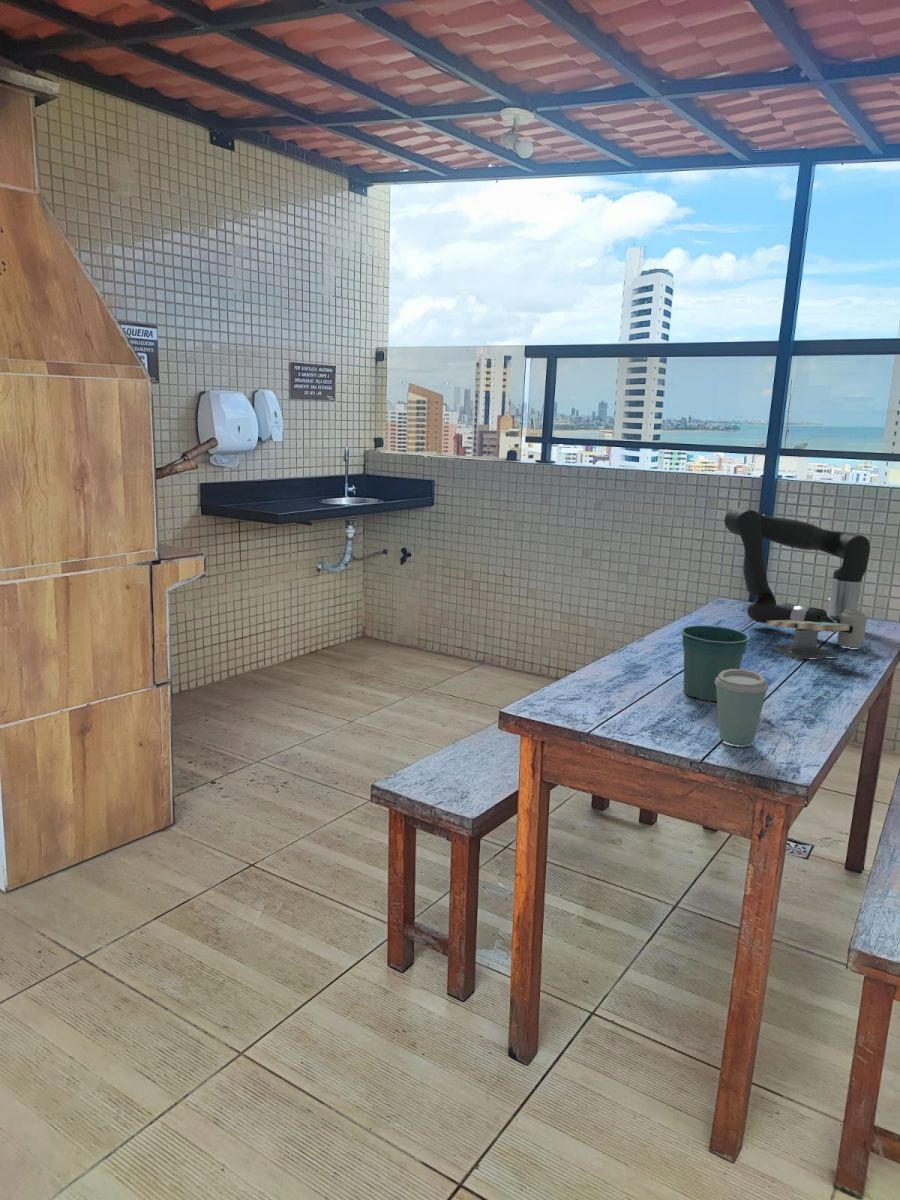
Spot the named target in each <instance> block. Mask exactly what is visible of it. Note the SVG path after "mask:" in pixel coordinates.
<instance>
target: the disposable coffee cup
mask: <svg viewBox="0 0 900 1200" xmlns="http://www.w3.org/2000/svg"><path fill="white" fill-rule="evenodd" d="M715 684H716V691H717V702H716V703H717V704H716V705H717V720H718V735H719V738H720V741H721V740H723V741H725V742H727V743H730V744H733V745H739V746H747V745H750V744H751V743H752V744H753V742H754V740H755V737H756V732H757V728H758V727H759V726H758V725H759V721H760V718H761V713H762V710H763V706H764V702H765V698H766V695H767V690H769V684H768V683H767V680H766V678H765V677H764V675H763V674H761V673H758V672H756V671H754V670H748V669H741V668H740V669H729V670H724V671H722V672H721V673H720V674H718V677H716V678H715ZM752 744H751V745H752ZM751 745H750V746H751Z"/></svg>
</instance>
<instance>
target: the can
mask: <svg viewBox="0 0 900 1200" xmlns="http://www.w3.org/2000/svg"><path fill="white" fill-rule="evenodd" d="M867 620H868V617H867V615H866V612H865V611H863V610H860V609H859V610H854V609H845V610H844V612H843V613H842V614H841V620H840V624H847V625H849V626H852V627H853V631H852V633H846V632H842V631H838V635H837V642H836V643H837V645H838V646H839V645H840V646H845V647H850V648H860V649H861V647H862V648H863V646H864V643H865V642H864V641H865V634H866V633H865V632H866V627H867ZM840 646H839V647H840Z"/></svg>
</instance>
